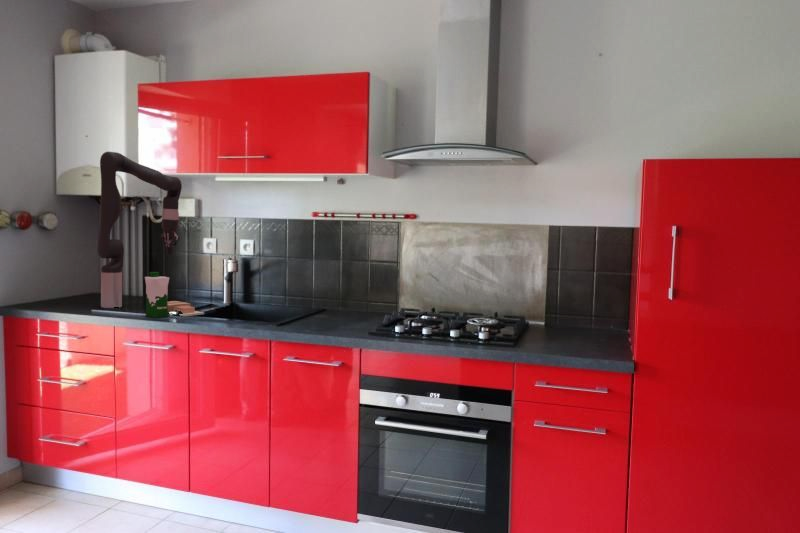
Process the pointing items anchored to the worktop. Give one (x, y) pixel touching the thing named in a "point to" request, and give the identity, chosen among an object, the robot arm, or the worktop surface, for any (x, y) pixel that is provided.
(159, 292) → the milk carton
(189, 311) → the tile
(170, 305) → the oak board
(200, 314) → the mat
